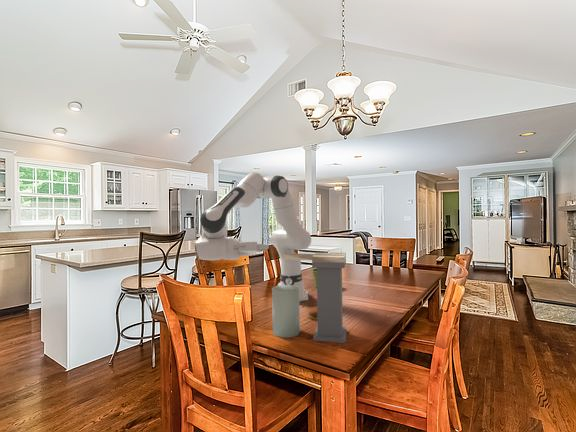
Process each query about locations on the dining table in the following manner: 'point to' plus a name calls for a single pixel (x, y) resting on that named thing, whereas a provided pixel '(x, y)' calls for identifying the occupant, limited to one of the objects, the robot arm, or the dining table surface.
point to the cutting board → (317, 257)
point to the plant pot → (315, 276)
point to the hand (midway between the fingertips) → (267, 247)
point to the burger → (313, 313)
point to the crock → (285, 311)
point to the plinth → (329, 303)
